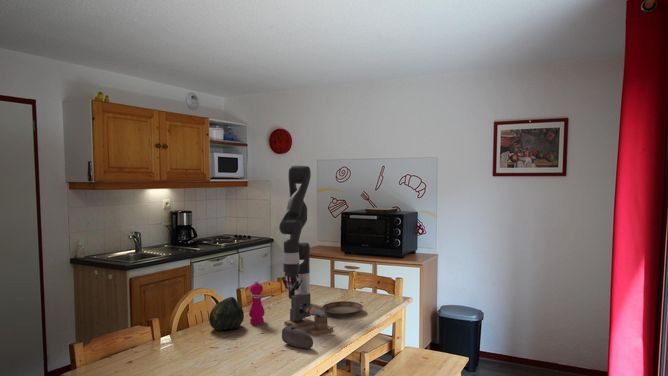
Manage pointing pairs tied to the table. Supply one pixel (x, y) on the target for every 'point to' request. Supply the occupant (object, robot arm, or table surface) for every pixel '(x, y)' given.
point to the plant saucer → (342, 309)
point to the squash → (226, 315)
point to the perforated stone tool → (296, 337)
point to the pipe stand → (311, 325)
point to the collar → (295, 305)
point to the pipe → (312, 311)
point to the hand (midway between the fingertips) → (291, 298)
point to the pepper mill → (256, 304)
